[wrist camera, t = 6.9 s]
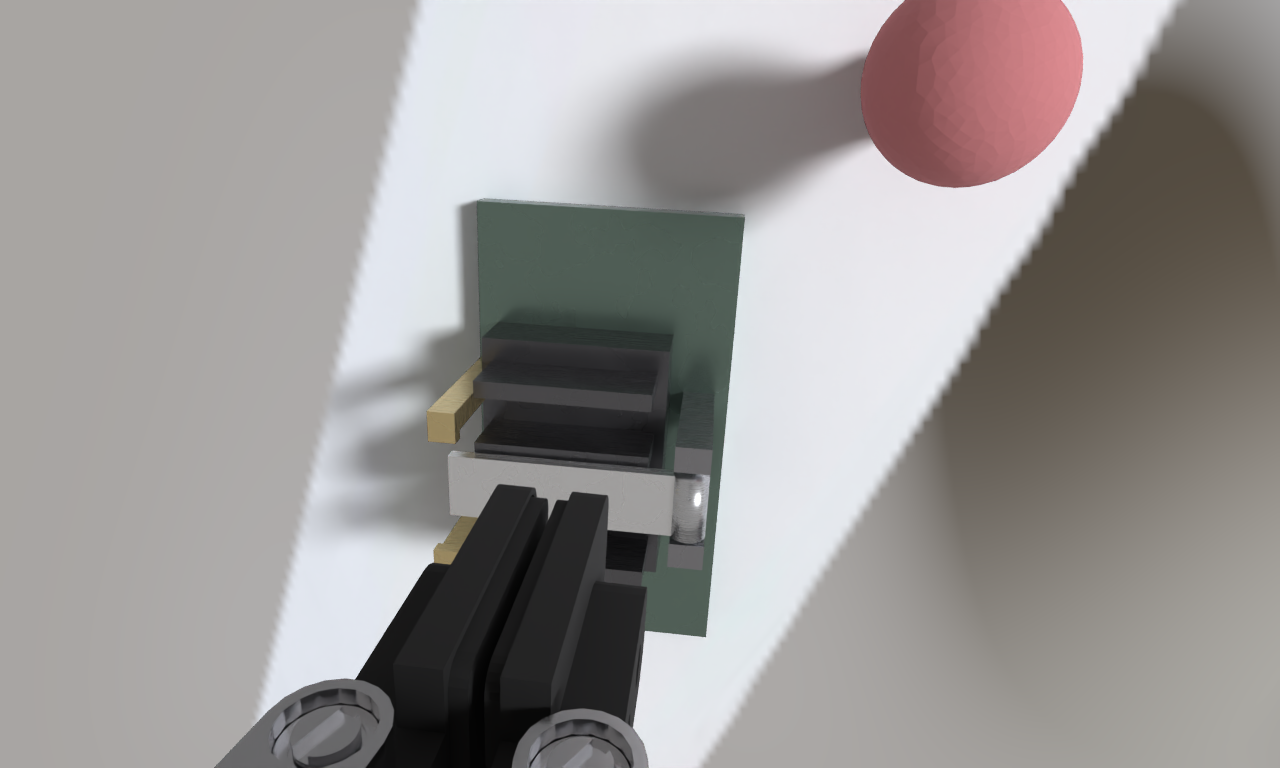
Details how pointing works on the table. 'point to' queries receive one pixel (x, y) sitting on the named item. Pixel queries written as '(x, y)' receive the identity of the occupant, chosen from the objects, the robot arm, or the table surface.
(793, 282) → the table surface
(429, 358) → the table surface
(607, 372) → the circuit board
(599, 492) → the retention strap
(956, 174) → the light bulb
